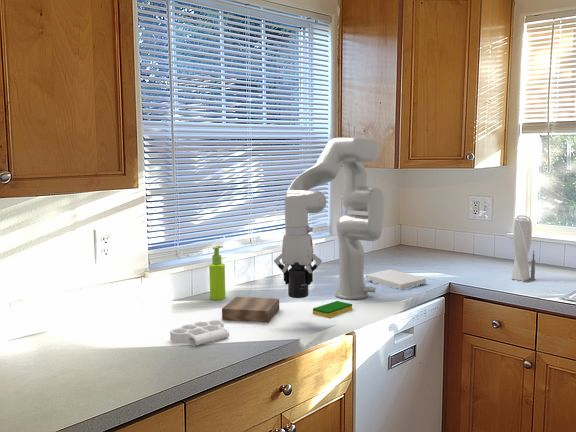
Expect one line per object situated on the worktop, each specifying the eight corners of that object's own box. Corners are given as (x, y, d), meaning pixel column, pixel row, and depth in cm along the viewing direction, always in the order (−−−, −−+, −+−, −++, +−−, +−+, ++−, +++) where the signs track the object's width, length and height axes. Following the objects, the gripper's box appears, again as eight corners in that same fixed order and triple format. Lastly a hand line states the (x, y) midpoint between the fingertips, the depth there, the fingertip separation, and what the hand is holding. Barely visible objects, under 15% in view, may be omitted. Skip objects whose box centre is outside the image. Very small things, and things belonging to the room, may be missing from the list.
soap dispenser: (229, 296, 234) (227, 245, 231) (221, 300, 227) (220, 248, 225) (215, 294, 236) (214, 244, 233) (207, 299, 229) (206, 247, 227)
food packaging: (425, 286, 249) (390, 276, 265) (425, 278, 249) (390, 269, 265) (400, 292, 240) (365, 282, 256) (401, 284, 240) (365, 274, 256)
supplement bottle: (306, 299, 196) (306, 263, 194) (286, 298, 198) (285, 262, 196) (310, 293, 203) (309, 258, 201) (290, 292, 204) (289, 258, 202)
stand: (279, 309, 214) (279, 298, 214) (268, 322, 199) (268, 311, 198) (236, 307, 218) (236, 296, 217) (222, 320, 202) (221, 308, 202)
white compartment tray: (186, 351, 174) (162, 338, 185) (238, 337, 185) (212, 326, 196) (186, 339, 173) (162, 328, 185) (237, 327, 185) (212, 316, 196)
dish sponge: (312, 315, 208) (312, 308, 208) (337, 306, 218) (337, 300, 218) (328, 319, 204) (328, 312, 203) (352, 310, 214) (352, 303, 213)
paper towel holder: (525, 283, 250) (528, 216, 246) (507, 280, 256) (509, 214, 252) (535, 280, 255) (538, 214, 252) (517, 276, 261) (519, 213, 258)
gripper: (324, 229, 199) (325, 281, 201) (273, 228, 203) (275, 280, 205) (321, 233, 191) (322, 287, 194) (268, 232, 195) (270, 286, 198)
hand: (298, 283), depth 200 cm, fingers closed on supplement bottle, 6 cm apart
